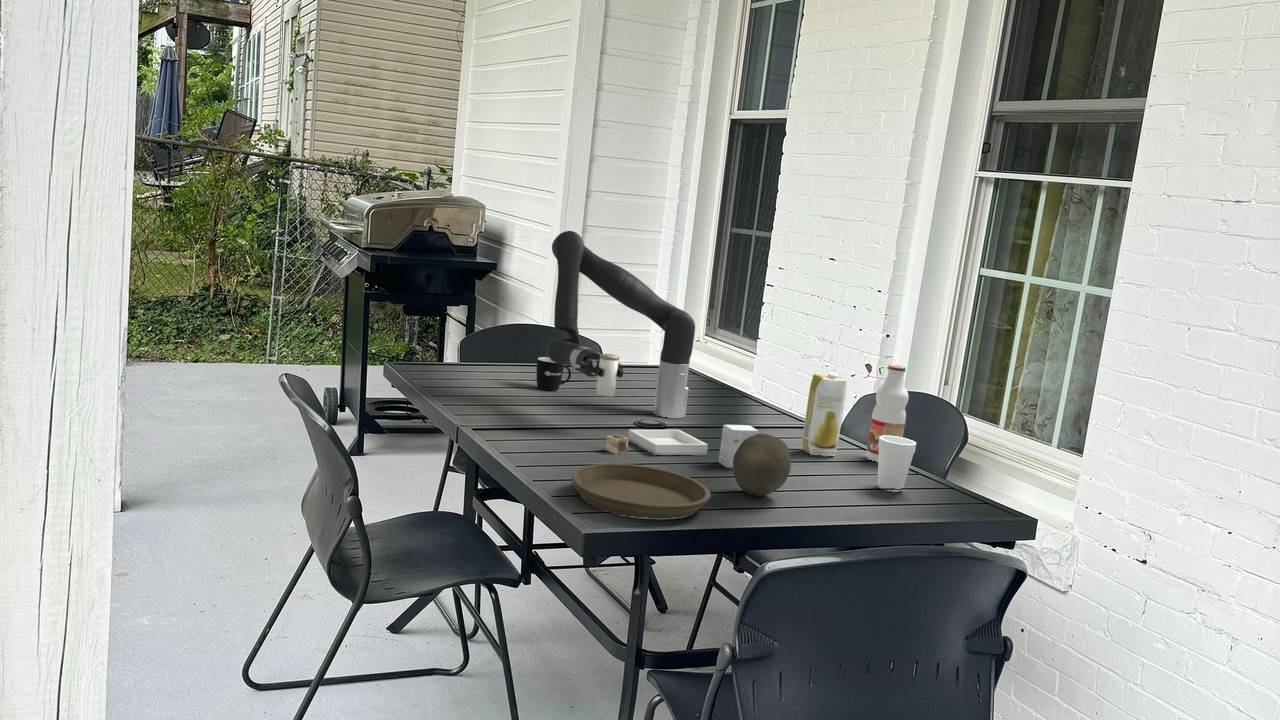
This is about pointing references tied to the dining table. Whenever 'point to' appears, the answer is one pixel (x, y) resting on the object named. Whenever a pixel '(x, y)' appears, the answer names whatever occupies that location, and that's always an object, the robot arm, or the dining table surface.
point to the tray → (667, 442)
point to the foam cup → (894, 460)
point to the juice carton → (824, 414)
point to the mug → (550, 374)
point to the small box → (733, 441)
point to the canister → (607, 375)
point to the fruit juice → (888, 410)
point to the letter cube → (617, 444)
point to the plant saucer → (639, 490)
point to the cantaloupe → (761, 464)
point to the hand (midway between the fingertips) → (612, 373)
